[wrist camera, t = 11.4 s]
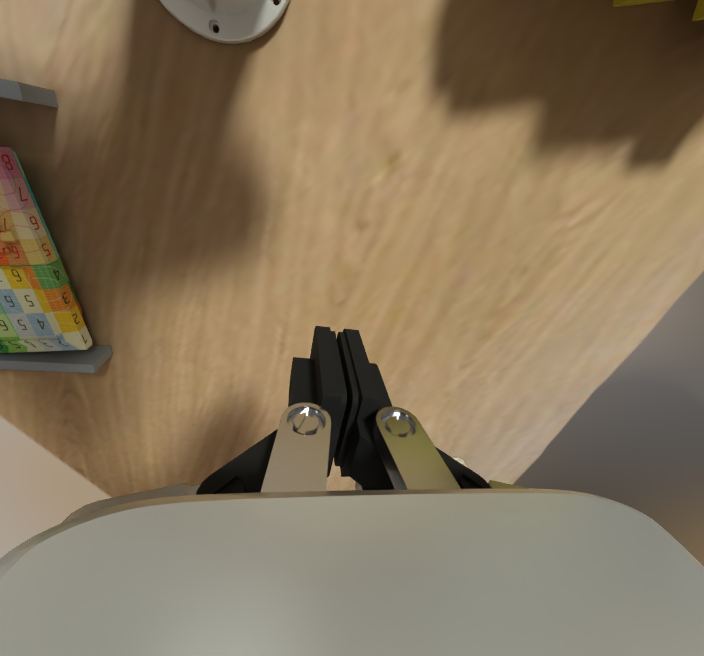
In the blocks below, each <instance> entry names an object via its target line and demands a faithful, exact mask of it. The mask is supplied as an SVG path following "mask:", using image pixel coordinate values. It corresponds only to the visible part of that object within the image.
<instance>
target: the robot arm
mask: <svg viewBox="0 0 704 656" xmlns="http://www.w3.org/2000/svg"><path fill="white" fill-rule="evenodd" d="M159 1H160V2H161V3H162V4H163V6H164V7H165V8H166V9H167V10H168V11H169V12H170V13H171V14H172V15H173V16H174V17H175V18H176V19H177V20H178V21H180V22H181V23H182V24H183V25H185V26H186V27H187V28H189V29H190V30H191V31H193V32H195V33H197V34H199V35H200V36H202V37H204V38H206V39H209V40H213V41H216V42H219V43H226V44H239V43H245V42H250V41H252V40H254V39H256V38H259V37H261V36H262V35H264V34H265V33H266V32H267V31H269V30H270V29H271V28H272V27H273V26H274V25H275V24H276V22H277V21H278V20H279V19H280V17H281V16H282V15H283V13H284V11H285V9H286V7H287V5H288V3H289V1H290V0H279V4H278V5H274V3H273V1H274V0H159ZM215 26H218V27H219V32H218V33H215V32H214V27H215ZM333 458H334V462H335V466H340V469H341V477H347V476H350V477H351V478H352V479H353V480H355V481H356V484H355V489H356V490H352V491H326V482H327V477H328V476H329V474H330V470H331V466H332V462H333ZM0 656H704V567H703V566H702V565H701V564H700V563H699V562H698V561H697V560H696V559H695V558H694V557H693V556H692V555H691V554H690V553H689V552H688V551H687V550H686V549H685V548H684V547H683V546H682V545H681V544H679V543H678V542H677V541H676V540H675V539H674V538H673V537H672V536H671V535H670V534H669V533H668V532H666V531H665V530H664V529H663V528H662V527H661V526H660V525H658V524H657V523H656V522H655V521H653V520H652V519H651V518H649V517H648V516H646V515H644V514H643V513H641V512H639V511H637V510H635V509H633V508H631V507H628V506H626V505H624V504H621V503H618V502H615V501H612V500H610V499H607V498H603V497H600V496H596V495H591V494H587V493H582V492H574V491H567V490H551V489H529V488H524V487H520V486H515V485H510V484H506V483H501V482H497V481H492V480H490V481H489V483H487V482H486V481H485V480H484V479H483V478H482V477H480V476H479V475H478V474H476V473H475V472H473V471H472V470H470V469H469V468H467V467H466V466H464V465H463V464H461V463H459V462H458V461H456V460H455V459H453V458H452V457H450V456H449V455H447V454H446V453H444V452H442V451H441V450H439V449H438V448H436V447H435V446H434V445H433V443H432V441H431V440H430V438H429V437H428V435H427V433H426V432H425V430H424V429H423V427H422V425H421V424H420V422H419V421H418V419H417V418H416V417H415V416H414V415H413V414H411V413H410V412H408V411H406V410H404V409H402V408H398V407H392V404H391V401H390V399H389V396H388V393H387V390H386V388H385V385H384V382H383V379H382V377H381V374H380V371H379V368H378V366H377V364H373V363H369V361H368V358H367V355H366V352H365V349H364V346H363V343H362V339H361V336H360V333H359V331H358V330H351V329H344V330H343V332H338V335H337V339H336V334H335V331H331V330H330V327H321V326H315V330H314V337H313V343H312V349H311V355H310V359H308V358H296V357H293V361H292V369H291V377H290V387H289V404H288V408H287V409H286V410H285V411H284V413H283V414H282V417H281V420H280V424H279V427H278V429H277V430H276V431H274V432H273V433H271V434H270V435H268V436H267V437H265V438H264V439H262V440H261V441H260V442H258V443H257V444H255V445H254V446H252V447H251V448H249V449H248V450H246V451H245V452H243V453H242V454H241V455H239V456H238V457H236V458H235V459H233V460H232V461H230V462H229V463H227V464H226V465H224V466H223V467H222V468H220V469H219V470H217V471H216V472H214V473H213V474H211V475H210V476H209V477H208V478H207V479H205V480H204V481H203V482H202V484H200V485H195V486H191V487H187V483H184V484H179V485H174V486H169V487H164V488H159V489H154V490H149V491H145V492H140V493H135V494H130V495H125V496H120V497H115V498H110V499H105V500H101V501H97V502H94V503H91V504H88V505H85V506H83V507H81V508H80V509H78V510H76V511H75V512H73V513H71V514H70V515H69V516H68V517H67V518H66V519H65V520H64V521H63V522H62V523H61V524H59V525H57V526H54V527H52V528H50V529H48V530H46V531H44V532H42V533H40V534H38V535H35V536H34V537H32V538H30V539H28V540H27V541H25V542H23V543H22V544H20V545H19V546H17V547H15V548H14V549H12V550H11V551H9V552H8V553H7V554H6V555H4V556H3V557H2V558H0Z"/></svg>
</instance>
